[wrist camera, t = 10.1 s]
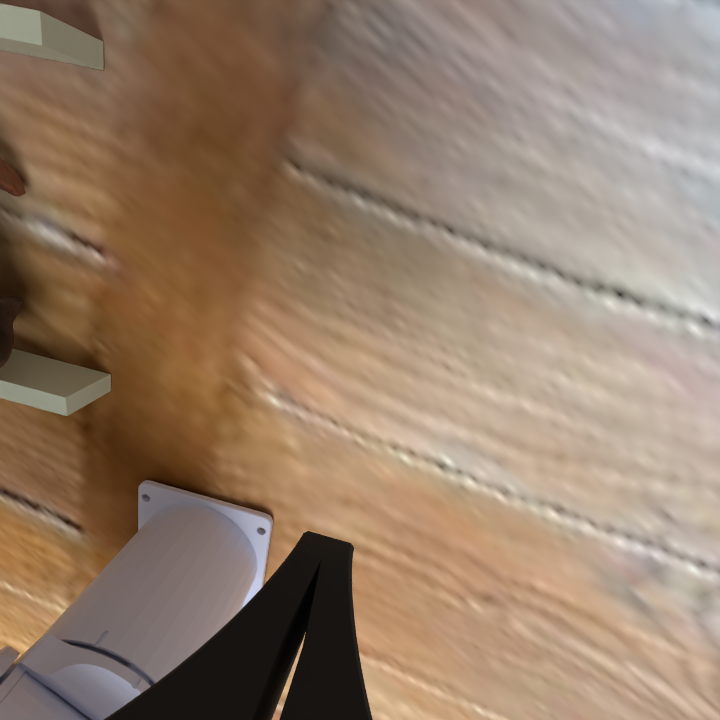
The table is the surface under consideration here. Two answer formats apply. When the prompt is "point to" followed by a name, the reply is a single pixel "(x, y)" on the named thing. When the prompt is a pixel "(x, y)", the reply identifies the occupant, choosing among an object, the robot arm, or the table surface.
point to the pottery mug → (7, 308)
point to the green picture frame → (22, 370)
